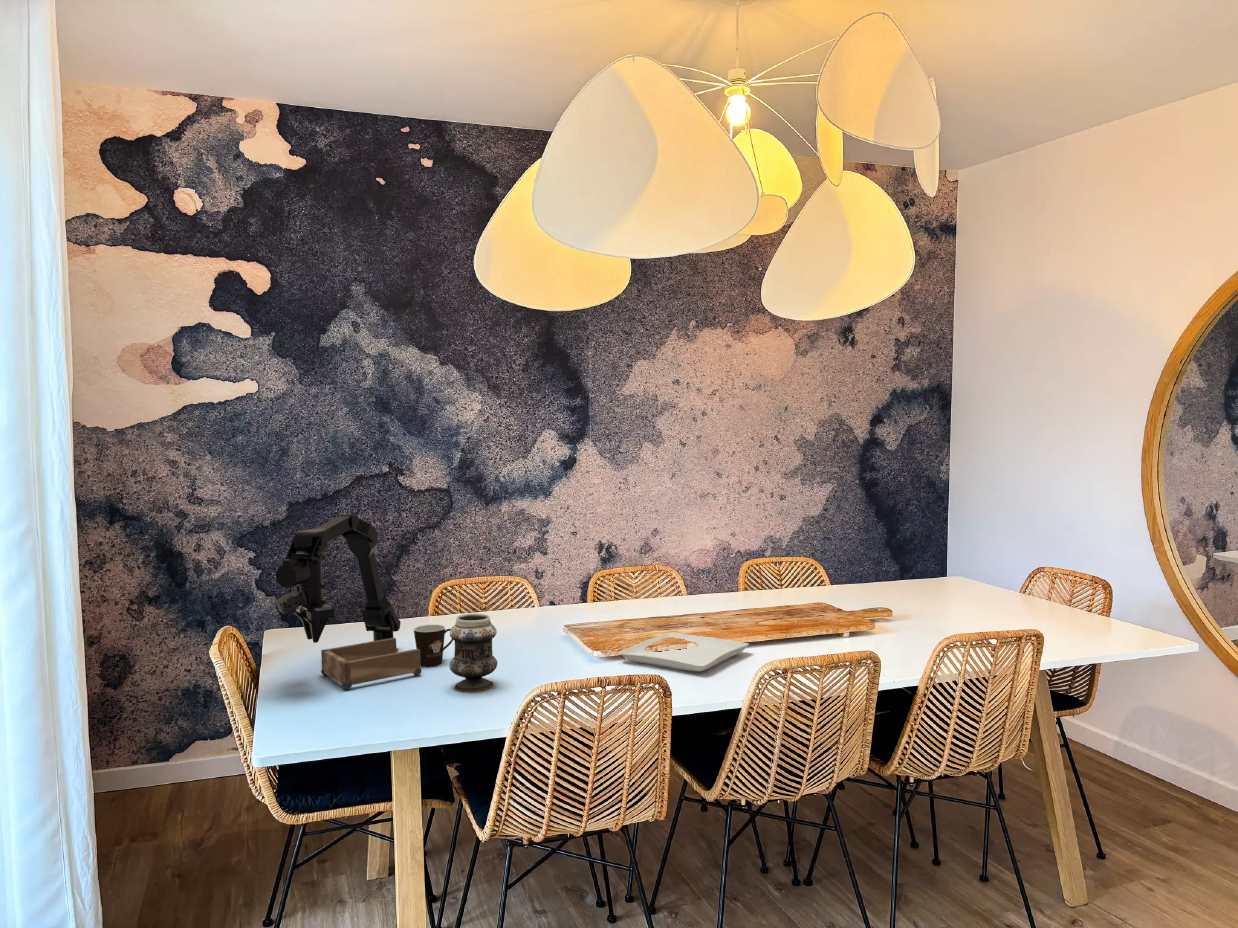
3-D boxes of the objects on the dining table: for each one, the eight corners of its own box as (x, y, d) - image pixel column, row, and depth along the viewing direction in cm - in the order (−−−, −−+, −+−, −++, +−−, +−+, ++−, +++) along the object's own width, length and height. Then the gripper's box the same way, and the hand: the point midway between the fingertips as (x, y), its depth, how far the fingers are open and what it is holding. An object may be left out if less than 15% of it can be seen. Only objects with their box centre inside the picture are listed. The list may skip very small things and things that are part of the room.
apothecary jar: (507, 685, 235) (505, 616, 234) (468, 696, 226) (466, 624, 225) (479, 676, 243) (477, 609, 242) (440, 686, 235) (438, 616, 234)
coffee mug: (415, 669, 251) (414, 633, 250) (413, 660, 259) (412, 625, 259) (458, 665, 254) (457, 629, 254) (455, 657, 262) (454, 622, 262)
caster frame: (319, 675, 246) (318, 649, 246) (395, 661, 259) (394, 636, 259) (344, 691, 232) (343, 664, 232) (423, 675, 245) (422, 649, 244)
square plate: (750, 655, 261) (750, 641, 261) (703, 679, 239) (703, 664, 239) (668, 642, 277) (668, 629, 276) (617, 664, 254) (617, 650, 254)
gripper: (266, 579, 237) (269, 639, 238) (290, 589, 222) (292, 653, 223) (310, 573, 244) (312, 632, 245) (335, 584, 229) (337, 645, 230)
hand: (312, 640), depth 236 cm, fingers open, 4 cm apart
